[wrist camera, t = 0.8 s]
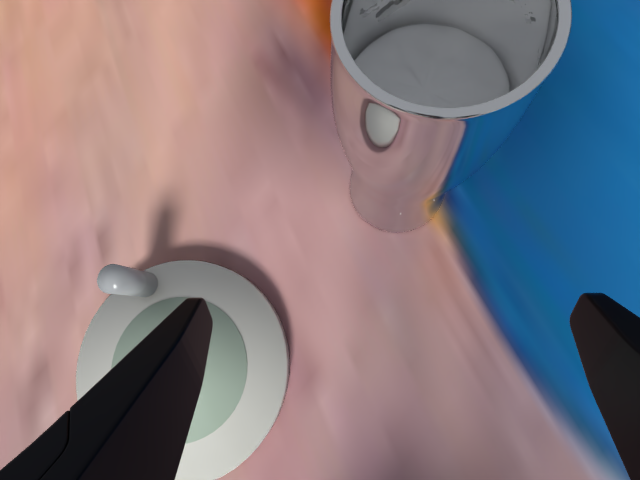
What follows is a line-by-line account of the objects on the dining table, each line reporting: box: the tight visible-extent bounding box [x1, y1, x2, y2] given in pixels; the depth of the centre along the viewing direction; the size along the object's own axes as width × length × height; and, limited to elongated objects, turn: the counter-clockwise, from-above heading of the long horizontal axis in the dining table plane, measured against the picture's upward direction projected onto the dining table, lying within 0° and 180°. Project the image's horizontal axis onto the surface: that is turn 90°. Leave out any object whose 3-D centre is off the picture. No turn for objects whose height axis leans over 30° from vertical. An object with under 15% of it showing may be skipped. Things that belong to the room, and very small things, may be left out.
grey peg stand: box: [76, 260, 290, 480], centre depth 22 cm, size 13×13×5 cm
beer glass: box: [330, 0, 572, 233], centre depth 18 cm, size 7×7×15 cm
